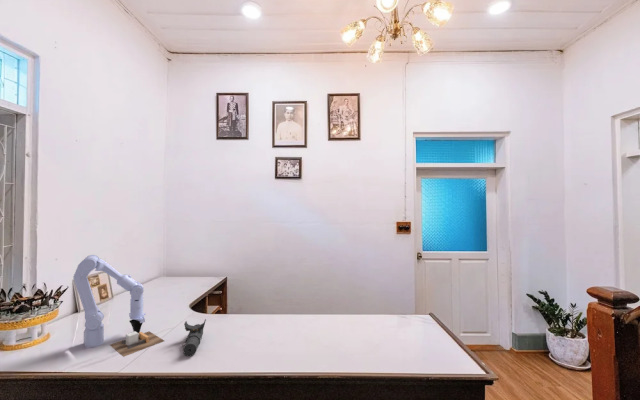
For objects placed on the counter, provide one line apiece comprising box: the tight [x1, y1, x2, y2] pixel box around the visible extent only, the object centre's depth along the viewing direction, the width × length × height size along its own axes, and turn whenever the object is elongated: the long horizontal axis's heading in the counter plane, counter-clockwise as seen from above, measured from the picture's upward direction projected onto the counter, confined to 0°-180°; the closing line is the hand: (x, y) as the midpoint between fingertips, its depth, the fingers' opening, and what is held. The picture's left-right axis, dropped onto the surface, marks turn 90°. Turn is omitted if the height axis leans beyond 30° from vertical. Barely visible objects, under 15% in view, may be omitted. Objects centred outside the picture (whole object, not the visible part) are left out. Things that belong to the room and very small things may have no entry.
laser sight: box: [182, 318, 207, 357], centre depth 141 cm, size 10×22×10 cm, turn 15°
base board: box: [109, 331, 165, 358], centre depth 140 cm, size 18×18×2 cm
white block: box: [125, 331, 139, 346], centre depth 139 cm, size 4×4×5 cm
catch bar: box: [138, 331, 149, 343], centre depth 143 cm, size 9×1×2 cm, turn 53°
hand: (136, 333), depth 148 cm, fingers closed
